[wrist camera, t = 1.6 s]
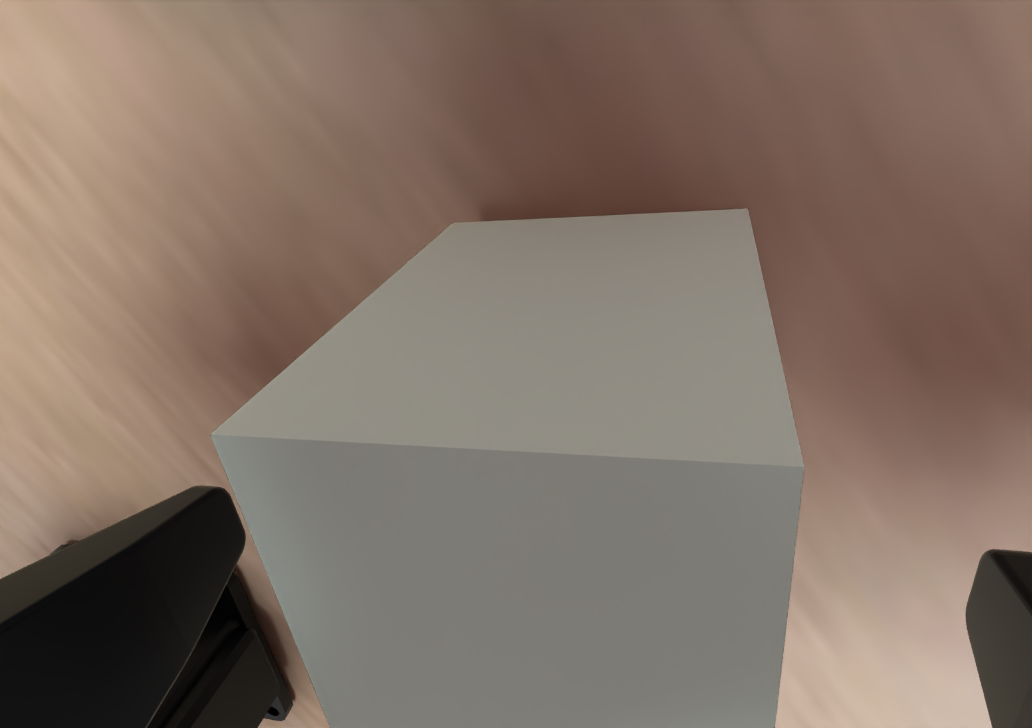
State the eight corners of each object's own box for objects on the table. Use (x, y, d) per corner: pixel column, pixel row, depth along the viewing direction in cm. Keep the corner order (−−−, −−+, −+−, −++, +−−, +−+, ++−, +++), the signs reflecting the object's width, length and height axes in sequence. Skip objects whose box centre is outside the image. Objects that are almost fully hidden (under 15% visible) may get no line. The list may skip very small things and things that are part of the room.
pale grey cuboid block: (509, 460, 14) (362, 808, 8) (471, 206, 11) (209, 434, 5) (730, 474, 12) (755, 899, 7) (744, 190, 10) (803, 467, 4)
